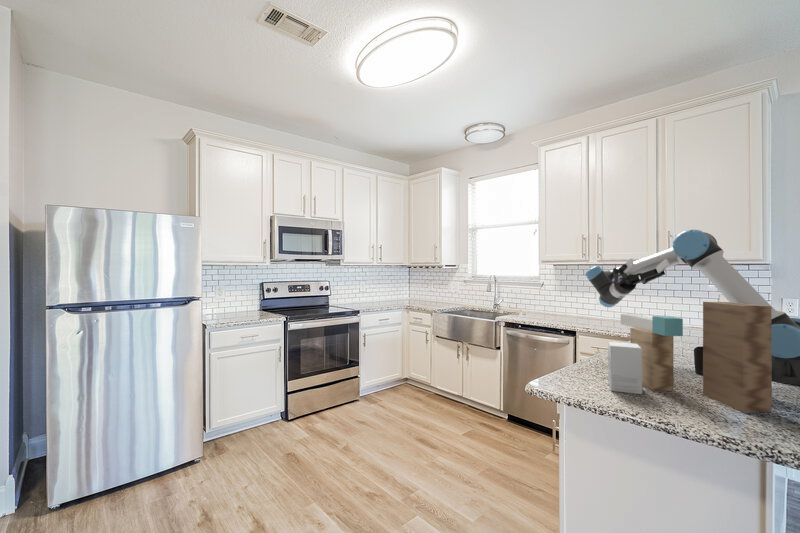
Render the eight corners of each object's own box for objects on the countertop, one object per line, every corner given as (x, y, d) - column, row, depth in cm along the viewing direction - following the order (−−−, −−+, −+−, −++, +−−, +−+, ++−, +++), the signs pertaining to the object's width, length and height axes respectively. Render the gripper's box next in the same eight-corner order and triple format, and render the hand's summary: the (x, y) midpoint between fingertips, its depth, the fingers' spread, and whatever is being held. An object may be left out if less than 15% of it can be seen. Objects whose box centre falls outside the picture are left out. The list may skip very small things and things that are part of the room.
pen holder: (687, 371, 146) (687, 346, 147) (710, 371, 147) (710, 346, 147) (708, 378, 137) (708, 351, 137) (732, 378, 137) (732, 351, 138)
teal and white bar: (618, 324, 143) (618, 309, 143) (633, 324, 143) (633, 310, 143) (664, 335, 117) (664, 318, 117) (682, 336, 117) (682, 318, 117)
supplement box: (638, 387, 125) (638, 343, 125) (642, 395, 117) (642, 348, 117) (607, 383, 129) (607, 340, 129) (610, 390, 121) (610, 345, 121)
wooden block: (649, 380, 134) (649, 327, 134) (673, 390, 122) (673, 333, 122) (630, 379, 134) (630, 327, 134) (652, 390, 122) (652, 333, 122)
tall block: (728, 395, 117) (728, 302, 118) (771, 412, 103) (771, 306, 104) (703, 395, 118) (703, 301, 118) (742, 411, 104) (742, 305, 104)
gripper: (653, 294, 160) (685, 270, 142) (596, 293, 161) (620, 269, 143) (648, 279, 164) (678, 253, 146) (592, 278, 165) (615, 253, 147)
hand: (649, 261), depth 144 cm, fingers open, 13 cm apart
